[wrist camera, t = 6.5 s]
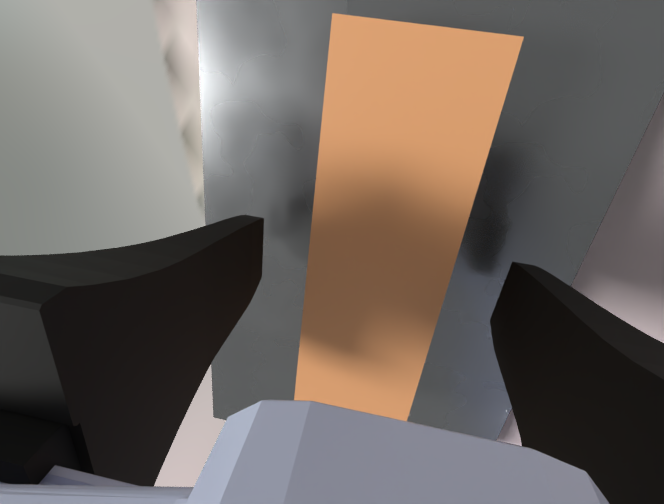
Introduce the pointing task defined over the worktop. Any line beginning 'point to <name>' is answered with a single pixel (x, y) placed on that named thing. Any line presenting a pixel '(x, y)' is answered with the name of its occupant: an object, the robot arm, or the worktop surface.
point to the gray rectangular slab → (492, 194)
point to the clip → (393, 201)
